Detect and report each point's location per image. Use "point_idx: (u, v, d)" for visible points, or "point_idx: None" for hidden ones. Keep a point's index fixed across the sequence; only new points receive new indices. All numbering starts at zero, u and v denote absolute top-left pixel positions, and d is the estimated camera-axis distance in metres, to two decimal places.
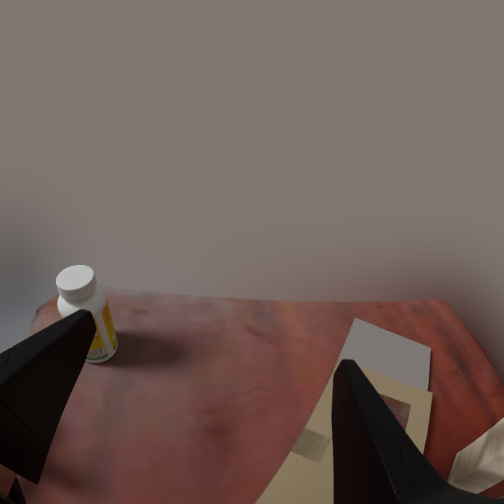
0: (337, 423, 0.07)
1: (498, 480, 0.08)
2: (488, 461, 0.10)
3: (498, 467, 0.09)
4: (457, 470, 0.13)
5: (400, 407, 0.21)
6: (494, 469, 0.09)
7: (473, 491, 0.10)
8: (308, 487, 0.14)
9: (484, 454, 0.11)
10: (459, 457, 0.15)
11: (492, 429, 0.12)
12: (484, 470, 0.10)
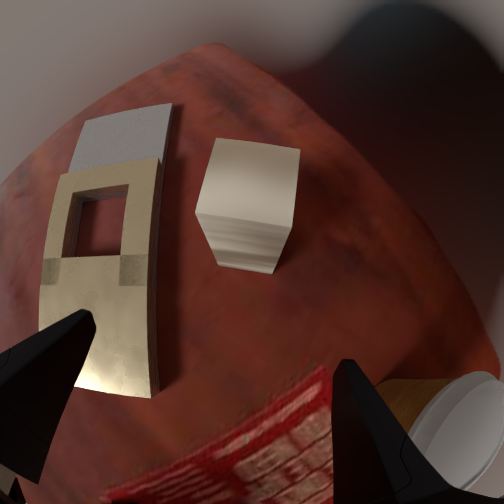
0: (337, 423, 0.07)
1: None
2: (208, 240, 0.17)
3: (236, 247, 0.17)
4: None
5: (125, 189, 0.24)
6: (235, 249, 0.18)
7: (262, 269, 0.22)
8: (58, 311, 0.19)
9: None
10: None
11: None
12: (223, 249, 0.18)
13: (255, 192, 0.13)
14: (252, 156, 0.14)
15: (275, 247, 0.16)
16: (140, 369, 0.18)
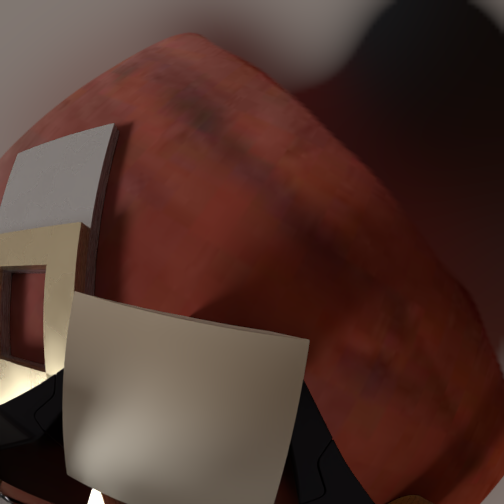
0: None
1: None
2: None
3: None
4: None
5: None
6: None
7: None
8: None
9: None
10: None
11: None
12: None
13: (177, 472, 0.04)
14: (161, 369, 0.04)
15: None
16: (95, 500, 0.09)
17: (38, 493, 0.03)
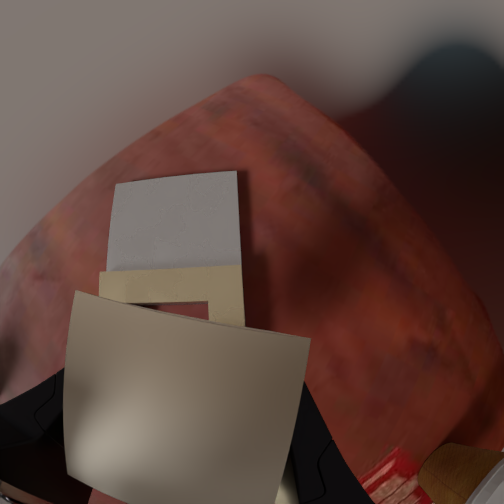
0: None
1: None
2: None
3: None
4: None
5: (200, 302, 0.21)
6: None
7: None
8: None
9: None
10: None
11: None
12: None
13: (178, 471, 0.04)
14: (162, 368, 0.04)
15: None
16: None
17: (38, 493, 0.03)
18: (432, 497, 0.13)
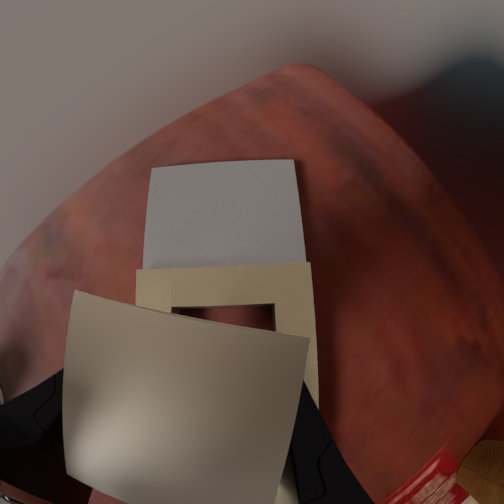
0: None
1: None
2: None
3: None
4: None
5: (262, 304, 0.18)
6: None
7: None
8: None
9: None
10: None
11: None
12: None
13: (177, 471, 0.04)
14: (161, 368, 0.04)
15: None
16: None
17: (38, 493, 0.03)
18: (473, 492, 0.10)
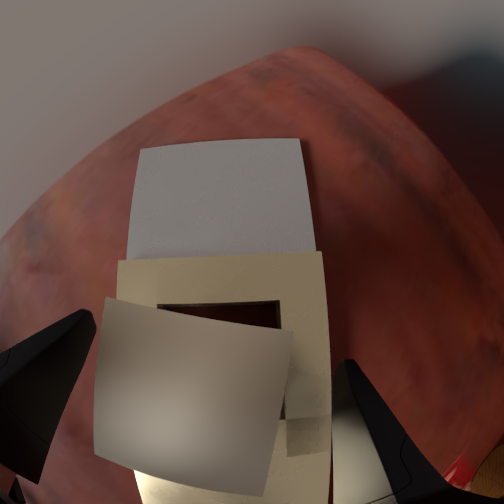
0: (337, 423, 0.07)
1: None
2: None
3: None
4: None
5: (264, 302, 0.15)
6: None
7: None
8: (177, 486, 0.11)
9: None
10: None
11: None
12: None
13: (191, 441, 0.05)
14: (180, 356, 0.06)
15: None
16: None
17: None
18: None
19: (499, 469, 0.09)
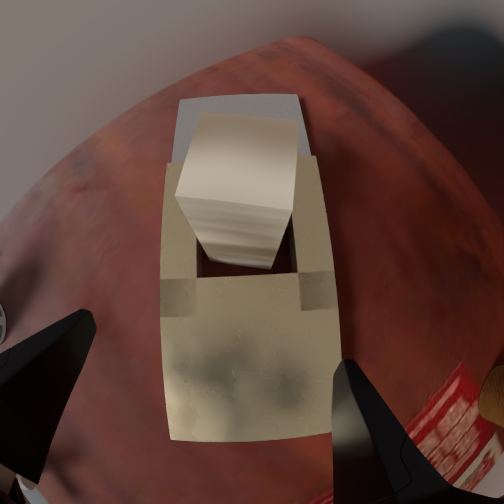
0: (337, 423, 0.07)
1: None
2: (195, 231, 0.15)
3: (228, 239, 0.15)
4: None
5: None
6: (226, 241, 0.15)
7: (259, 264, 0.20)
8: (201, 352, 0.17)
9: None
10: None
11: None
12: (214, 242, 0.16)
13: (247, 170, 0.11)
14: (243, 130, 0.11)
15: (272, 237, 0.14)
16: None
17: None
18: (500, 416, 0.13)
19: (503, 380, 0.15)
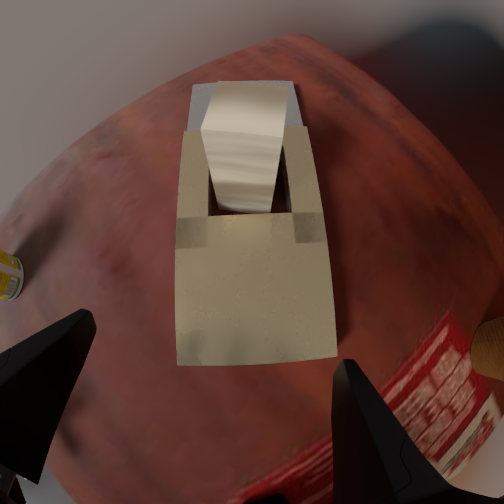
0: (337, 423, 0.07)
1: None
2: (210, 170, 0.18)
3: (235, 175, 0.19)
4: None
5: None
6: (234, 178, 0.19)
7: (260, 208, 0.23)
8: (210, 277, 0.20)
9: None
10: None
11: None
12: (224, 181, 0.20)
13: (251, 114, 0.14)
14: (248, 91, 0.15)
15: (270, 170, 0.17)
16: (327, 327, 0.19)
17: None
18: (493, 364, 0.16)
19: (492, 329, 0.18)
